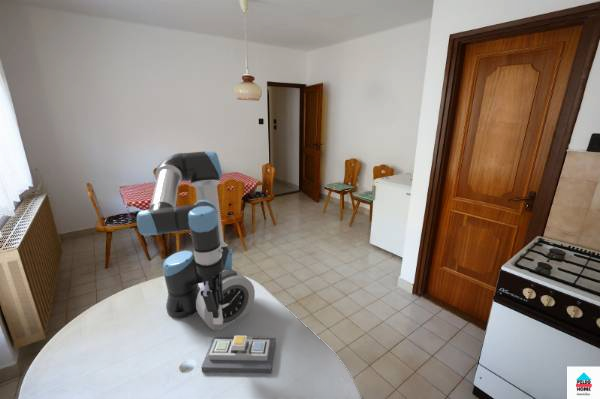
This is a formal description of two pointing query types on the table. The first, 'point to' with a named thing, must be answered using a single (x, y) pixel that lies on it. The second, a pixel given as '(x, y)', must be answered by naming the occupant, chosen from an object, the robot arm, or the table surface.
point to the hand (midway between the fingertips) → (218, 322)
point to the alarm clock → (229, 299)
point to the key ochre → (239, 342)
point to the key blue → (258, 348)
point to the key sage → (222, 347)
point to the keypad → (240, 357)
